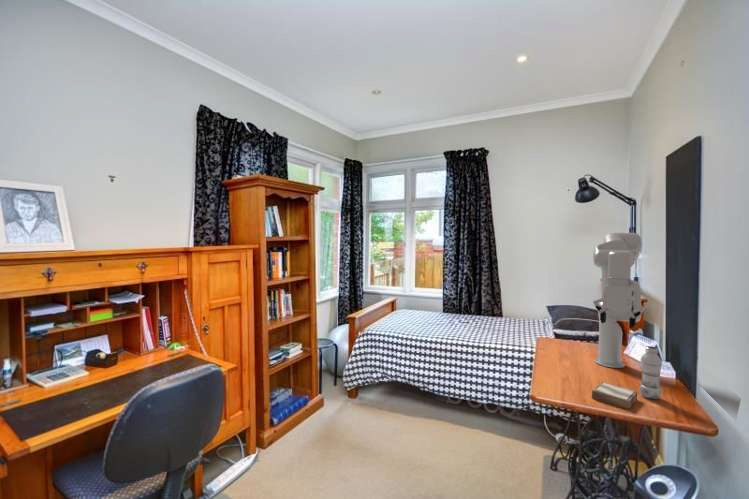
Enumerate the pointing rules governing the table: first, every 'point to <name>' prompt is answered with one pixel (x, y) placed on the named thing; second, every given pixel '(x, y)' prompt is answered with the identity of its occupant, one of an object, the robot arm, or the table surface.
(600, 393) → the plinth
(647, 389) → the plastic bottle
